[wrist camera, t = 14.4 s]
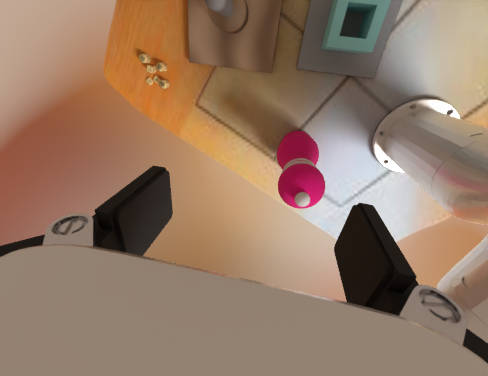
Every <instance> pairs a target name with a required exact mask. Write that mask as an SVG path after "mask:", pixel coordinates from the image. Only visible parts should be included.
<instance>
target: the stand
mask: <svg viewBox="0 0 488 376" xmlns="http://www.w3.org/2000/svg"><path fill="white" fill-rule="evenodd" d="M282 2H283V0H188V30H189V62H191V63H199V64H207V65H214V66H222V67H230V68H238V69H245V70H253V71H261V72H268V73H272V67H273V60H274V54H275V47H276V41H277V34H278V28H279V21H280V15H281V8H282Z"/></svg>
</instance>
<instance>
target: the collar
mask: <svg viewBox="0 0 488 376" xmlns="http://www.w3.org/2000/svg"><path fill="white" fill-rule="evenodd" d="M390 1H391V0H333V3H332V7H331V11H330V15H329V19H328V23H327V27H326V31H325V35H324V39H323V43H322V47H321V49H326V50H334V51H343V52H351V53H359V54H363V53H370V52H373V49H374V46H375V43H376V41H377V38H378V35H379V32H380V29H381V27H382V24H383V21H384V18H385V15H386V13H387V10H388V7H389V4H390ZM346 11H348V12H357V13H365V14H364V17H363V20H362V24H361V27H360V30H359V33H358V36H357V38H353V37H345V36H339V35H340V31H341V28H342V24H343V21H344V17H345V14H346Z"/></svg>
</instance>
